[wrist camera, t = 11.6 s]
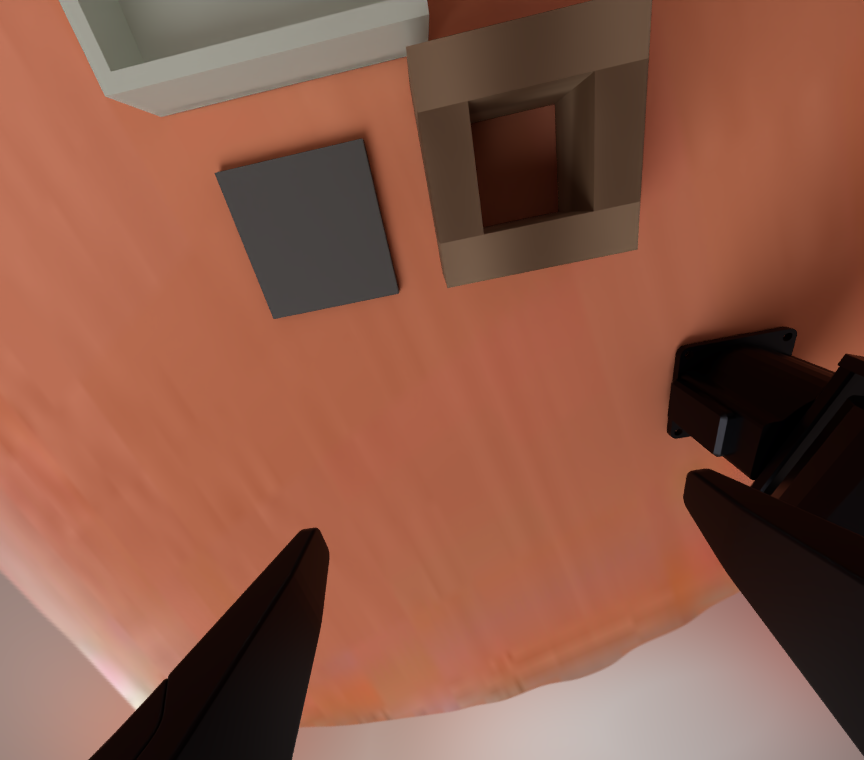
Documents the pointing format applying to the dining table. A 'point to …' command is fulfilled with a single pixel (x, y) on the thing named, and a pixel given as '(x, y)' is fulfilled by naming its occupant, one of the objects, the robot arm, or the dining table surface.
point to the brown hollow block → (575, 132)
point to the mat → (312, 228)
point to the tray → (234, 45)
